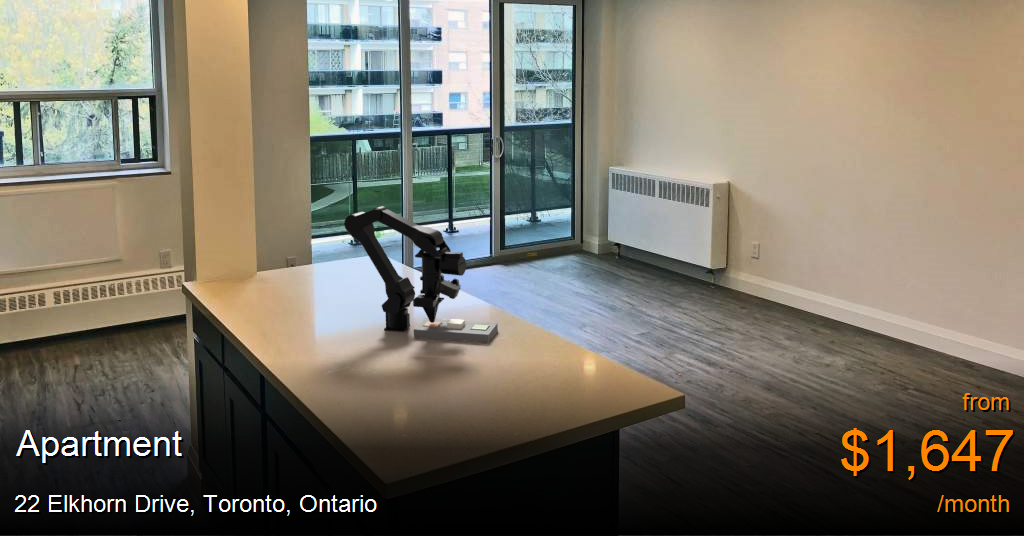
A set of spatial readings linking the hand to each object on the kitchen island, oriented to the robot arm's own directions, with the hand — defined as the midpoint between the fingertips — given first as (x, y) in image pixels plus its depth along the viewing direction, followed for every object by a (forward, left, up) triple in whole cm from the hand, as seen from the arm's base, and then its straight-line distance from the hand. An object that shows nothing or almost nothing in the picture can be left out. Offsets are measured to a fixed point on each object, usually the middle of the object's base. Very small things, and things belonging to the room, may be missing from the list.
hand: (432, 322), depth 288 cm
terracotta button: (0, 0, -3) cm, 3 cm away
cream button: (+8, 0, -2) cm, 8 cm away
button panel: (+7, 0, -3) cm, 8 cm away
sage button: (+15, 0, -3) cm, 15 cm away
